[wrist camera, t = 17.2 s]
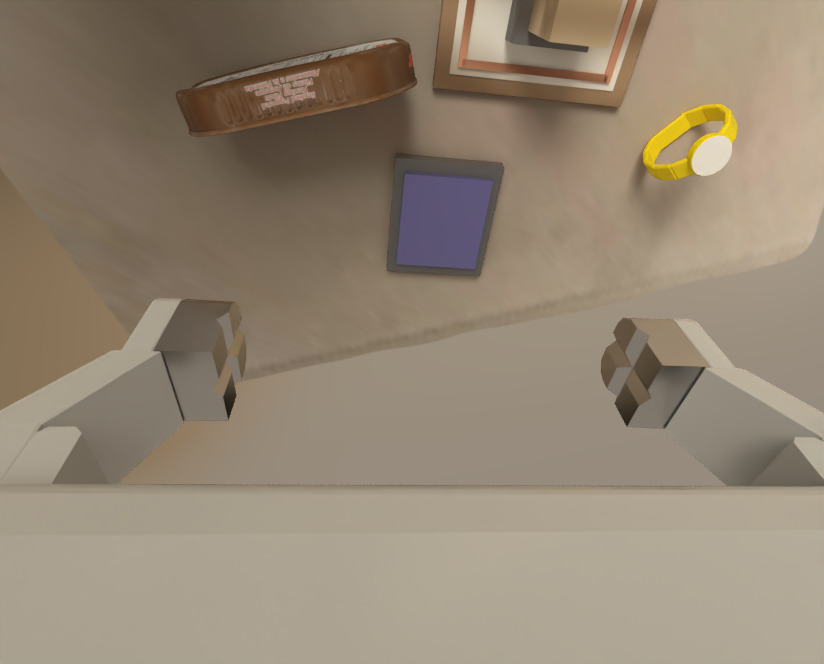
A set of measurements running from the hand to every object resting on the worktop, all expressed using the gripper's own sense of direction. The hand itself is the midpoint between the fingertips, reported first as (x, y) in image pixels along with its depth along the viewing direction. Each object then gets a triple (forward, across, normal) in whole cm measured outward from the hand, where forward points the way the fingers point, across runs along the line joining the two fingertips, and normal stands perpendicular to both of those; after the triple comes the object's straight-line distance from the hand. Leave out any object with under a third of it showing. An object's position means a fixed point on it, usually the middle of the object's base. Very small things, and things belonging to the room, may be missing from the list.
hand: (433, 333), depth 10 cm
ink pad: (+29, -5, +11) cm, 32 cm away
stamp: (+29, -10, -5) cm, 31 cm away
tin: (+30, +6, +1) cm, 31 cm away
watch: (+30, -22, +3) cm, 37 cm away
